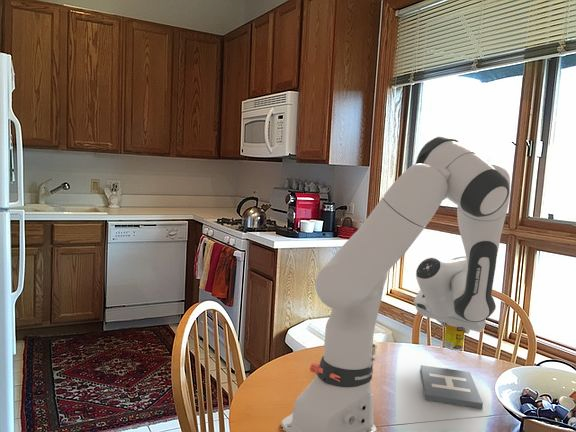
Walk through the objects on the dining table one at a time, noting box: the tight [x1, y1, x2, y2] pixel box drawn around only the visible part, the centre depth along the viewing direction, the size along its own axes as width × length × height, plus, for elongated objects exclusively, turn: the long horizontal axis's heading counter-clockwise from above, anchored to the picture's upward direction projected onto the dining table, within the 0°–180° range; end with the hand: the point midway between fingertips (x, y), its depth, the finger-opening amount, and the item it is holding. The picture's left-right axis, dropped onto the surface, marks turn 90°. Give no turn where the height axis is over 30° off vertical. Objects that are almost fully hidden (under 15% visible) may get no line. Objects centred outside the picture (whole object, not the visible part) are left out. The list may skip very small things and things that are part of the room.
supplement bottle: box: [443, 323, 465, 352], centre depth 148 cm, size 6×6×10 cm
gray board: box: [419, 364, 484, 410], centre depth 134 cm, size 20×14×2 cm
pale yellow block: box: [372, 339, 378, 356], centre depth 152 cm, size 10×9×6 cm
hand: (456, 328), depth 148 cm, fingers closed on supplement bottle, 6 cm apart
